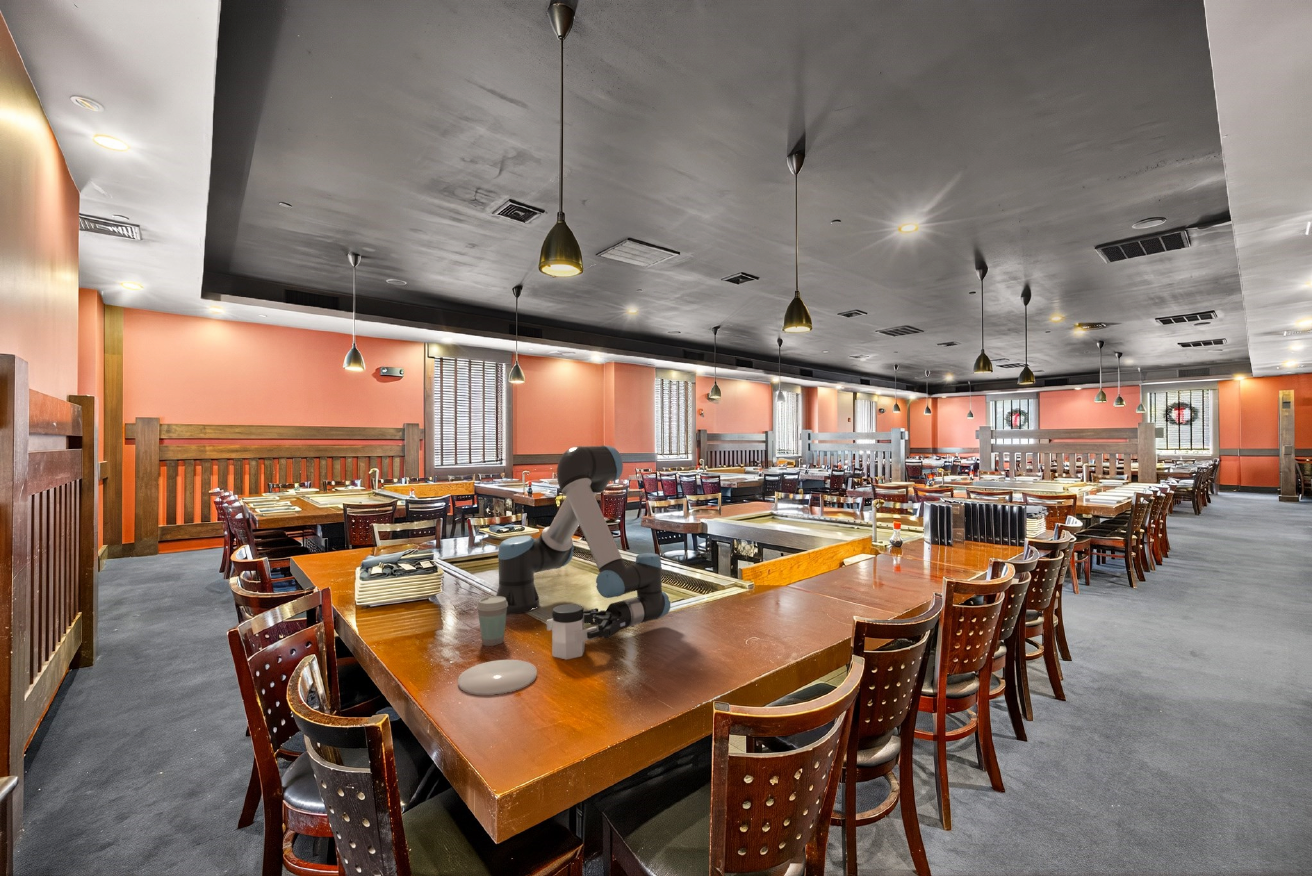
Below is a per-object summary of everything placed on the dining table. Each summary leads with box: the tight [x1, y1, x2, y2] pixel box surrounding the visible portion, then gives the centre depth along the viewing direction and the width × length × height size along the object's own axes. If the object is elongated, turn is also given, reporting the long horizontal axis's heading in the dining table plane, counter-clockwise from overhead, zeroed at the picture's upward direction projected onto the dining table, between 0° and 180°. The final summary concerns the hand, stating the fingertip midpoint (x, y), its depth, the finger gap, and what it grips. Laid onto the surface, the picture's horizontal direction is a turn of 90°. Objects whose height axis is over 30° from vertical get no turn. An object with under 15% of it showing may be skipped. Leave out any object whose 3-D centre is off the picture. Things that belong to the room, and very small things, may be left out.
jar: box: [551, 603, 585, 660], centre depth 151 cm, size 9×8×12 cm
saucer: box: [457, 659, 538, 696], centre depth 135 cm, size 18×18×1 cm
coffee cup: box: [476, 595, 508, 647], centre depth 160 cm, size 9×8×12 cm
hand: (560, 631), depth 149 cm, fingers open, 13 cm apart
